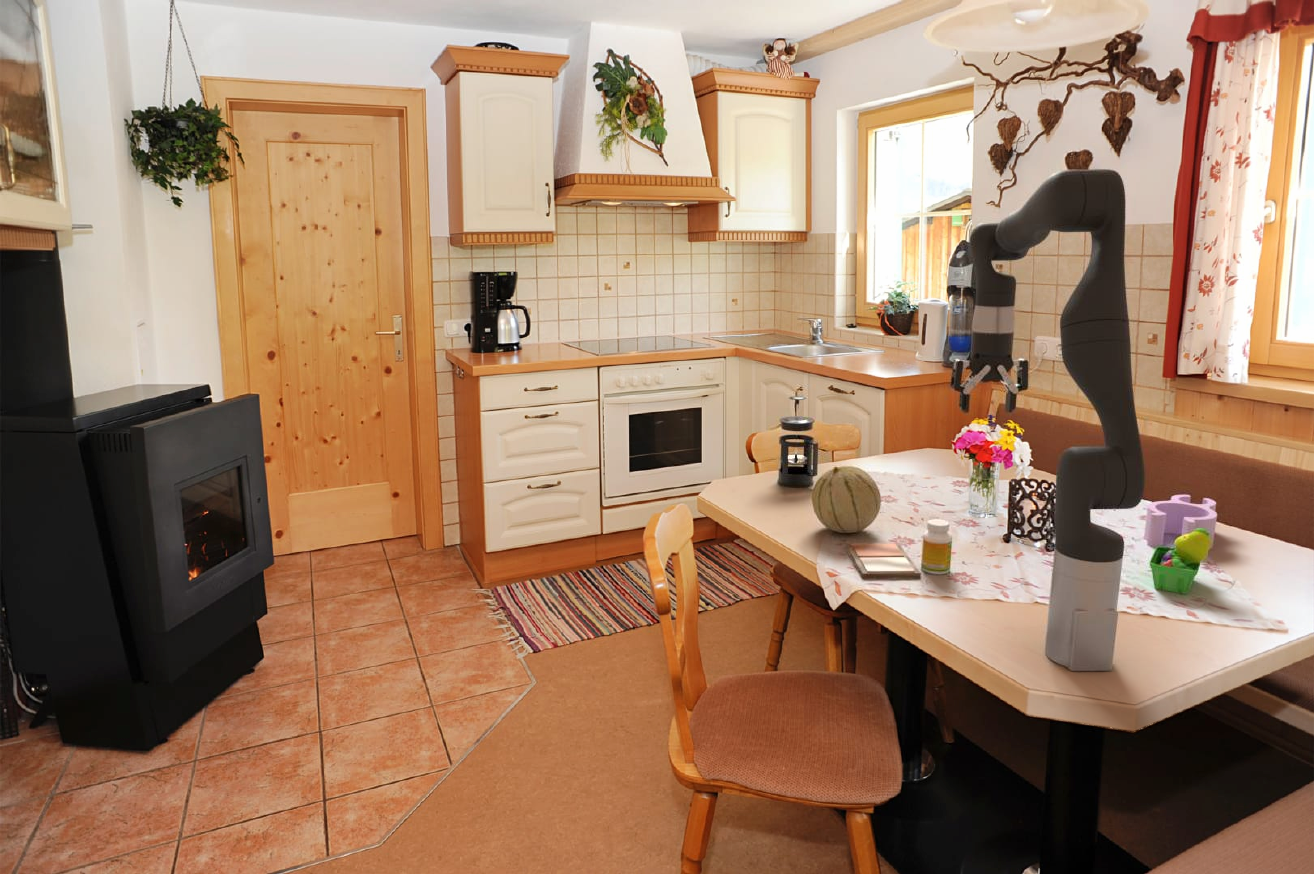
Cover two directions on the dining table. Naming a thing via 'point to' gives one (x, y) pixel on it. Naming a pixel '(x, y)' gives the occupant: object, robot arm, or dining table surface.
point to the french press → (796, 474)
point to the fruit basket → (1180, 561)
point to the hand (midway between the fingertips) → (986, 412)
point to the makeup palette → (882, 560)
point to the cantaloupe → (846, 499)
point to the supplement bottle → (936, 547)
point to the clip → (1179, 518)
